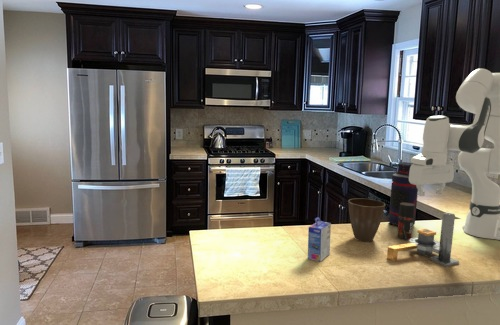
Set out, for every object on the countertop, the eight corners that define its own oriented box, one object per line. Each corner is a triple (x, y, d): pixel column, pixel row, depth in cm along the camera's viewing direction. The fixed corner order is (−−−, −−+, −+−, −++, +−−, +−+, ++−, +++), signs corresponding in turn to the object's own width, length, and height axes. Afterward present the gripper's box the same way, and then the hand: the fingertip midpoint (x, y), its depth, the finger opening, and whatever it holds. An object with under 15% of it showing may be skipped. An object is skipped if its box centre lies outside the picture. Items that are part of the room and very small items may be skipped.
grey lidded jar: (423, 250, 163) (426, 228, 162) (433, 254, 159) (436, 232, 157) (415, 252, 161) (417, 229, 160) (424, 256, 157) (427, 233, 155)
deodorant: (399, 234, 182) (402, 201, 180) (413, 237, 178) (416, 204, 176) (395, 237, 178) (398, 204, 175) (409, 241, 174) (412, 206, 172)
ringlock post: (423, 246, 167) (427, 203, 165) (463, 263, 151) (468, 215, 148) (379, 253, 157) (382, 208, 155) (416, 272, 141) (421, 221, 139)
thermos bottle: (406, 229, 190) (411, 165, 185) (383, 223, 199) (388, 162, 194) (421, 225, 198) (427, 163, 194) (398, 219, 208) (404, 160, 203)
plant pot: (351, 231, 185) (354, 196, 183) (385, 237, 177) (388, 201, 175) (341, 240, 172) (343, 202, 170) (377, 247, 165) (380, 208, 162)
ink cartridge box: (316, 250, 159) (318, 214, 157) (330, 253, 156) (332, 216, 154) (306, 258, 150) (308, 220, 148) (320, 262, 147) (323, 223, 145)
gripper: (445, 156, 162) (442, 191, 164) (407, 158, 154) (404, 194, 156) (459, 159, 157) (456, 194, 159) (420, 161, 148) (417, 198, 150)
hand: (430, 194), depth 157 cm, fingers open, 8 cm apart
